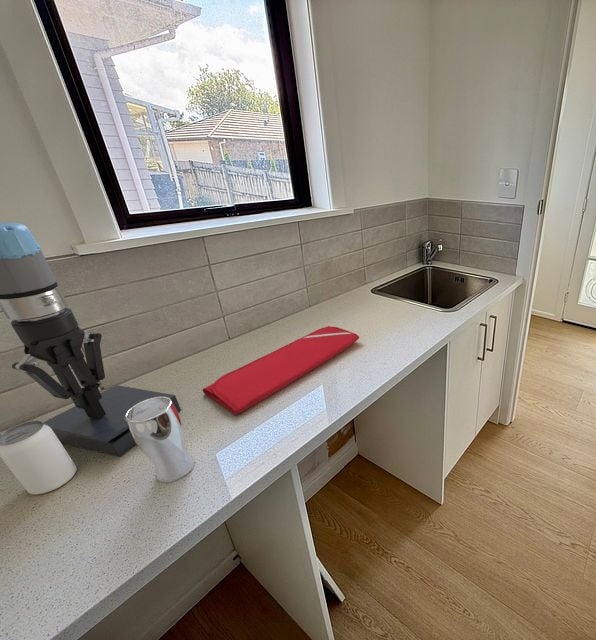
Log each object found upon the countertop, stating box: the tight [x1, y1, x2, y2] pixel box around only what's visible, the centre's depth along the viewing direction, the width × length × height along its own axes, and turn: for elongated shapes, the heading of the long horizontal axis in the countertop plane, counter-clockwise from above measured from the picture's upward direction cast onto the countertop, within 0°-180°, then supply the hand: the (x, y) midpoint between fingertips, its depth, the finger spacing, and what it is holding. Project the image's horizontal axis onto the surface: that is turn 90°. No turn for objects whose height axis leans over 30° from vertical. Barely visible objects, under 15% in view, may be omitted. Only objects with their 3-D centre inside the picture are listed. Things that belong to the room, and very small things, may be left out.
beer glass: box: [125, 397, 196, 483], centre depth 61 cm, size 7×7×15 cm
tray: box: [53, 397, 182, 458], centre depth 74 cm, size 14×17×4 cm
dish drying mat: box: [202, 325, 360, 416], centre depth 95 cm, size 16×41×4 cm, turn 146°
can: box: [0, 420, 78, 495], centre depth 59 cm, size 6×6×12 cm
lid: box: [42, 384, 177, 443], centre depth 72 cm, size 15×17×1 cm
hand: (97, 415), depth 70 cm, fingers closed
